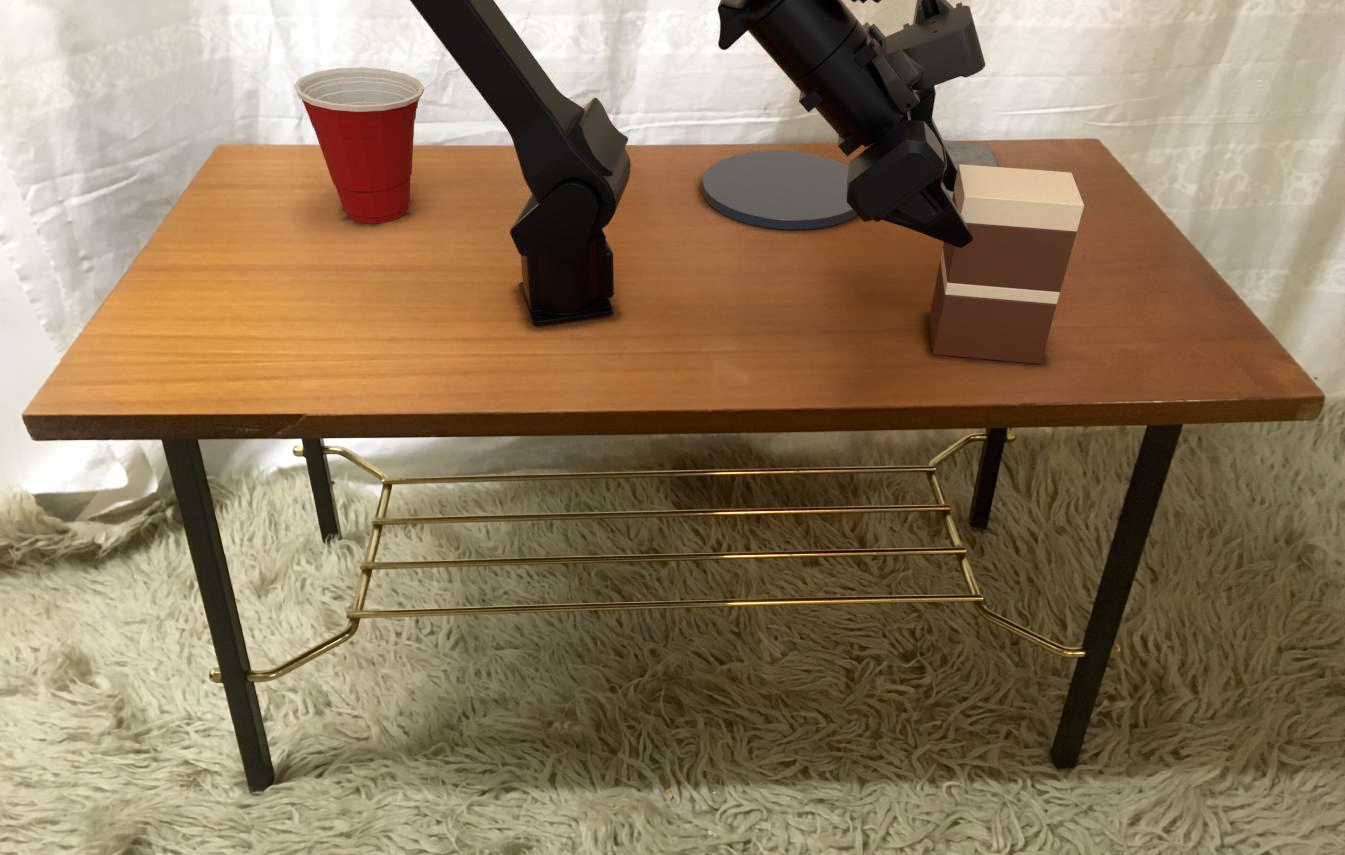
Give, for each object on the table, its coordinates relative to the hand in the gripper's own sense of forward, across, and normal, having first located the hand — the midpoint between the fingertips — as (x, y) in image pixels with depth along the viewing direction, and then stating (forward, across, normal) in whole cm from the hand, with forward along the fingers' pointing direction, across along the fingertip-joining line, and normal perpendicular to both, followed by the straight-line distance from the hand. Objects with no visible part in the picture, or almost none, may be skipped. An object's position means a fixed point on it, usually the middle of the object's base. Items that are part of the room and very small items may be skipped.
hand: (962, 214), depth 76 cm
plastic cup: (-28, +14, +43) cm, 53 cm away
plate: (-2, +24, +17) cm, 30 cm away
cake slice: (+10, 0, +5) cm, 11 cm away
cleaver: (+10, +24, +5) cm, 27 cm away
